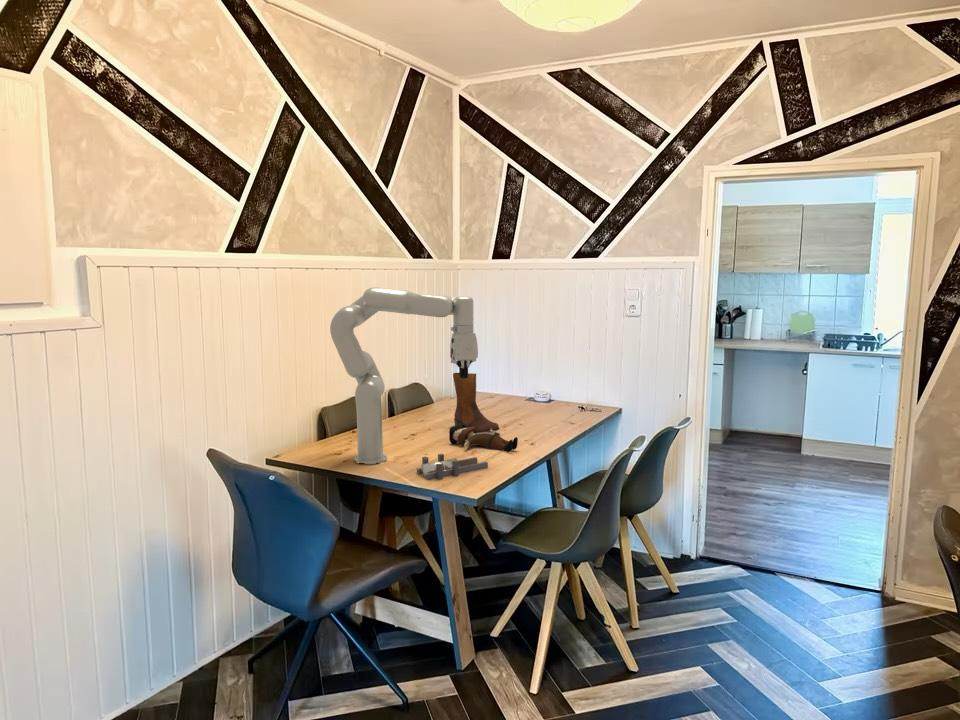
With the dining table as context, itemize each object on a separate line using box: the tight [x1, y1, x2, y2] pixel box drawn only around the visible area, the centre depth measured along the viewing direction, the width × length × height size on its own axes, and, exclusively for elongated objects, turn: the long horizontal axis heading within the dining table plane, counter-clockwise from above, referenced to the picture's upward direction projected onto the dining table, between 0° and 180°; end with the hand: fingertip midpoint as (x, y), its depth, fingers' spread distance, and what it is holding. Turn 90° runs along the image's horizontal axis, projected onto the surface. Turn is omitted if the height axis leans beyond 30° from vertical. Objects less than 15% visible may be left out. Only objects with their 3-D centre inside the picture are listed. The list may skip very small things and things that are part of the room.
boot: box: [452, 372, 501, 434], centre depth 288 cm, size 25×9×27 cm, turn 43°
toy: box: [448, 425, 519, 453], centre depth 261 cm, size 24×10×30 cm
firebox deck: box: [414, 453, 491, 483], centre depth 227 cm, size 12×25×6 cm, turn 124°
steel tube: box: [420, 458, 458, 478], centre depth 224 cm, size 13×4×5 cm, turn 121°
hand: (463, 377), depth 240 cm, fingers closed
